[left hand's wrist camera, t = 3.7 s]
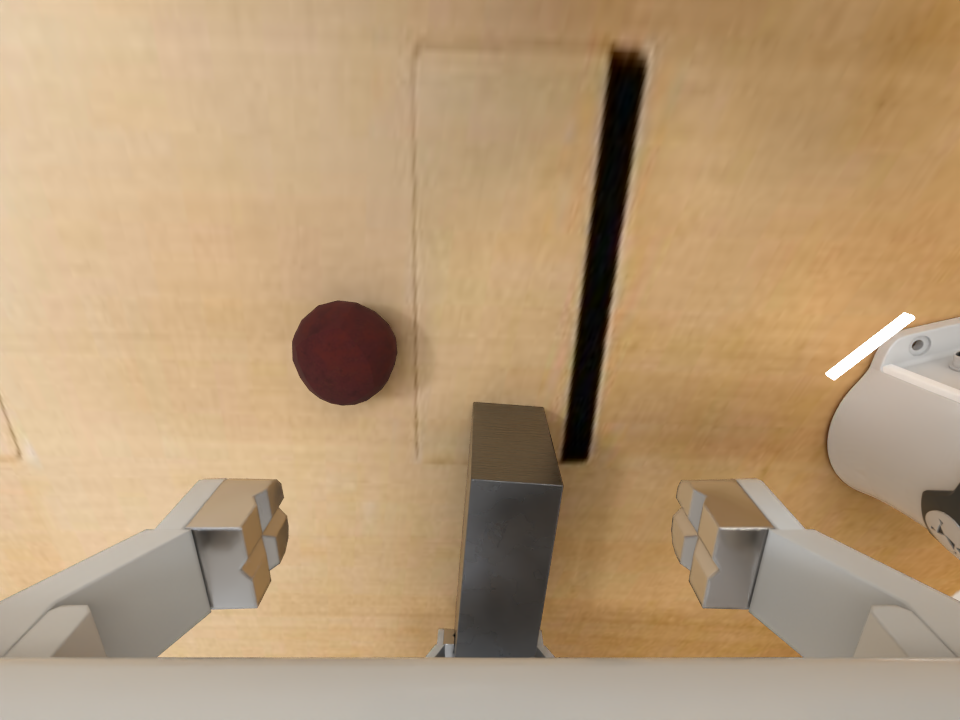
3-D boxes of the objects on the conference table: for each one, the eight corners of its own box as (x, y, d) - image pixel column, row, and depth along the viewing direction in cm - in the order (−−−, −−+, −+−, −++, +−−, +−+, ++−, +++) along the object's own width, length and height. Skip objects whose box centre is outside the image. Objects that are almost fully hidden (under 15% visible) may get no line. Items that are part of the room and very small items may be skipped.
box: (473, 401, 44) (470, 479, 33) (543, 407, 44) (563, 485, 33) (455, 609, 52) (449, 725, 41) (514, 613, 52) (523, 729, 41)
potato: (343, 394, 43) (319, 436, 36) (291, 315, 41) (255, 344, 34) (420, 358, 42) (408, 394, 35) (371, 273, 39) (349, 295, 33)
